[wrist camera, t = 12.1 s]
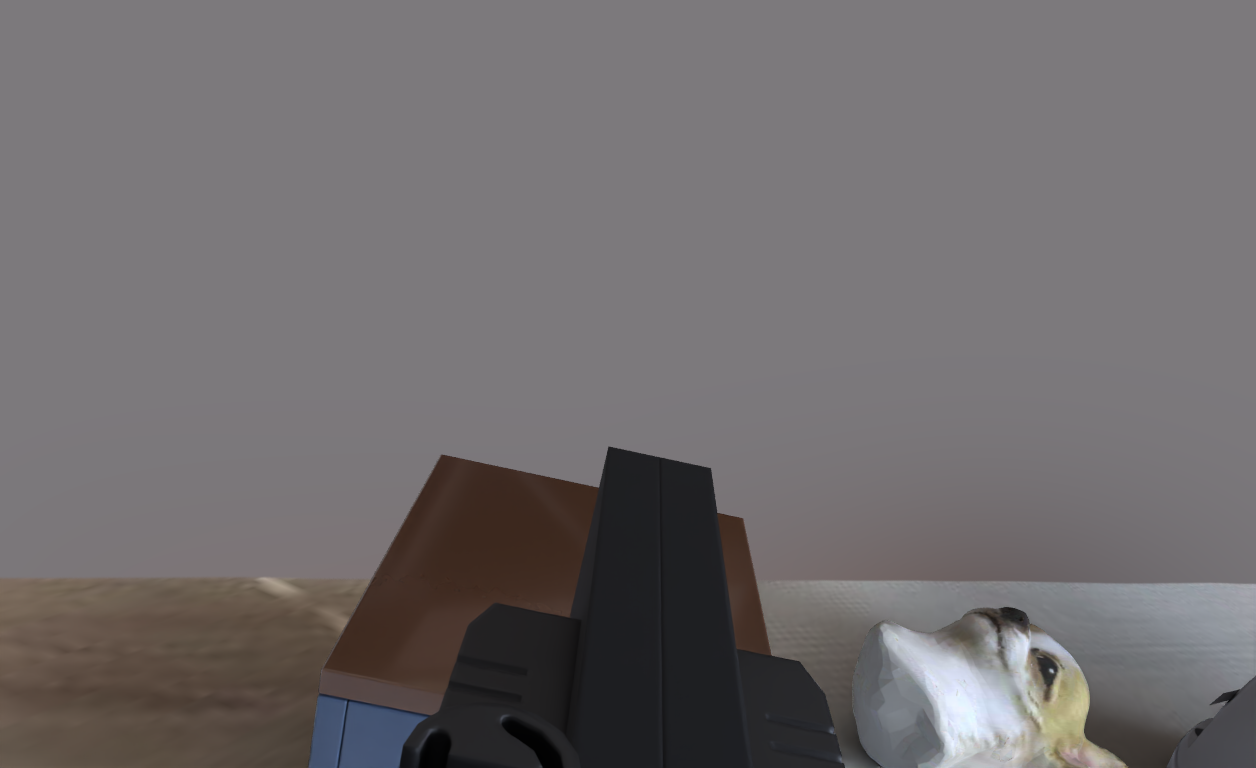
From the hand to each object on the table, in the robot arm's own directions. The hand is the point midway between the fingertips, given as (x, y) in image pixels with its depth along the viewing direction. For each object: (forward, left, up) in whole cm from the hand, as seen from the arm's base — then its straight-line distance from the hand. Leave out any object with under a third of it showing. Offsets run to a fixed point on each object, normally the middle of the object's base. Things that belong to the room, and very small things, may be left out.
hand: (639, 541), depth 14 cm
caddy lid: (0, -15, -10) cm, 18 cm away
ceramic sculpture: (-21, -26, -22) cm, 39 cm away
